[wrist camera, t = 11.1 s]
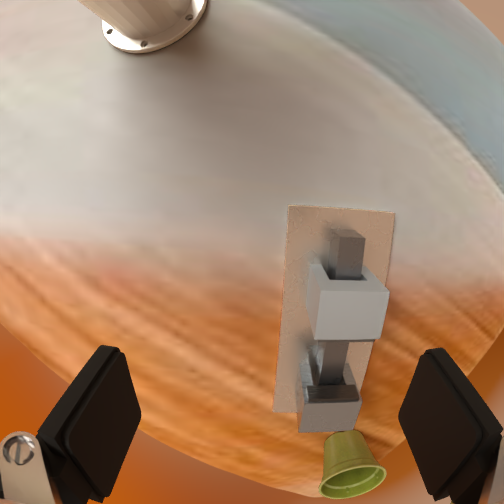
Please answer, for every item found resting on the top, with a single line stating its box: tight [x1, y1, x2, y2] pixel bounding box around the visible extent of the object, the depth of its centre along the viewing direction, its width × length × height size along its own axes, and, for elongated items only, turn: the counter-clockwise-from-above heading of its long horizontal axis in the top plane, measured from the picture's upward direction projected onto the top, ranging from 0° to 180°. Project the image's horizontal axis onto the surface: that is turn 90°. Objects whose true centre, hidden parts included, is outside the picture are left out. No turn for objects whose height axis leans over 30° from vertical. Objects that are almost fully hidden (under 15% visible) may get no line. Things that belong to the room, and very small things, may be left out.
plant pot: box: [319, 430, 386, 499], centre depth 34 cm, size 9×9×9 cm
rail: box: [273, 205, 395, 432], centre depth 29 cm, size 26×11×8 cm, turn 178°
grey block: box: [306, 264, 390, 342], centre depth 27 cm, size 5×6×7 cm
